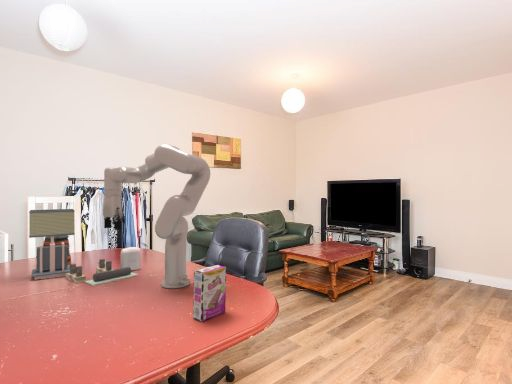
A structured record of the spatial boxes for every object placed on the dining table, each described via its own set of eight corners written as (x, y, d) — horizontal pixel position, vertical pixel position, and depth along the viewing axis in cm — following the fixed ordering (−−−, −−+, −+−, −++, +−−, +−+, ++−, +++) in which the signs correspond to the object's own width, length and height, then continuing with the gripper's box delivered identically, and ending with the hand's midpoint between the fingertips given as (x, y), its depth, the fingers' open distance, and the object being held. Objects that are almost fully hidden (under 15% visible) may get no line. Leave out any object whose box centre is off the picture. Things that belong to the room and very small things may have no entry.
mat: (137, 275, 156) (137, 274, 156) (92, 285, 139) (92, 284, 139) (129, 272, 161) (129, 271, 161) (84, 282, 144) (84, 281, 144)
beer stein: (39, 262, 182) (39, 228, 182) (68, 259, 191) (68, 226, 191) (41, 269, 167) (41, 232, 167) (72, 265, 176) (72, 230, 176)
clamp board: (114, 275, 157) (115, 261, 157) (76, 283, 143) (76, 268, 143) (103, 271, 164) (103, 257, 164) (66, 278, 150) (66, 264, 150)
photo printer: (138, 268, 171) (138, 245, 171) (141, 269, 168) (141, 246, 168) (119, 271, 164) (119, 247, 164) (122, 272, 161) (122, 249, 161)
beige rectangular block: (110, 270, 167) (110, 262, 167) (105, 271, 165) (105, 263, 165) (102, 267, 172) (102, 260, 172) (97, 268, 170) (97, 261, 170)
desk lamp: (72, 269, 167) (72, 208, 167) (74, 275, 155) (74, 210, 155) (30, 274, 157) (30, 209, 157) (29, 281, 145) (29, 211, 145)
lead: (127, 273, 158) (127, 266, 158) (131, 274, 156) (131, 267, 156) (93, 281, 144) (92, 273, 145) (96, 282, 142) (96, 274, 142)
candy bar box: (202, 322, 101) (202, 272, 101) (192, 318, 105) (192, 270, 104) (226, 312, 110) (226, 266, 110) (216, 309, 113) (217, 264, 113)
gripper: (96, 193, 152) (96, 228, 152) (114, 193, 141) (113, 231, 142) (111, 193, 158) (111, 226, 158) (129, 193, 147) (129, 229, 147)
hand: (112, 228), depth 150 cm, fingers open, 9 cm apart
